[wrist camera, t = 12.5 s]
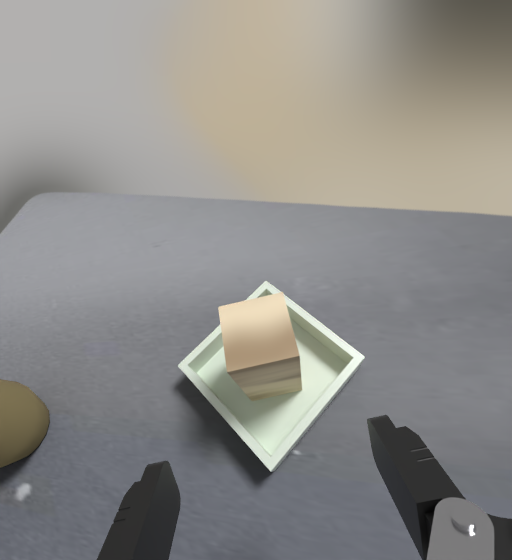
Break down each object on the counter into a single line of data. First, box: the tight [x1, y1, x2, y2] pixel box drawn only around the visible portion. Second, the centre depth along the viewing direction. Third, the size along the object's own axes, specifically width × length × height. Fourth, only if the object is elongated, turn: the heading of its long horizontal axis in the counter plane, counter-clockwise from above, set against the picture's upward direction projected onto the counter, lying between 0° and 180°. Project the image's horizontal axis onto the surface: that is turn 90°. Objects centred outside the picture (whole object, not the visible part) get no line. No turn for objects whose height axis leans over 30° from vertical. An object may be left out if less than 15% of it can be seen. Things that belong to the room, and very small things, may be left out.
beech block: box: [218, 292, 302, 401], centre depth 27 cm, size 5×5×11 cm
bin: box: [178, 281, 365, 472], centre depth 31 cm, size 12×12×4 cm
